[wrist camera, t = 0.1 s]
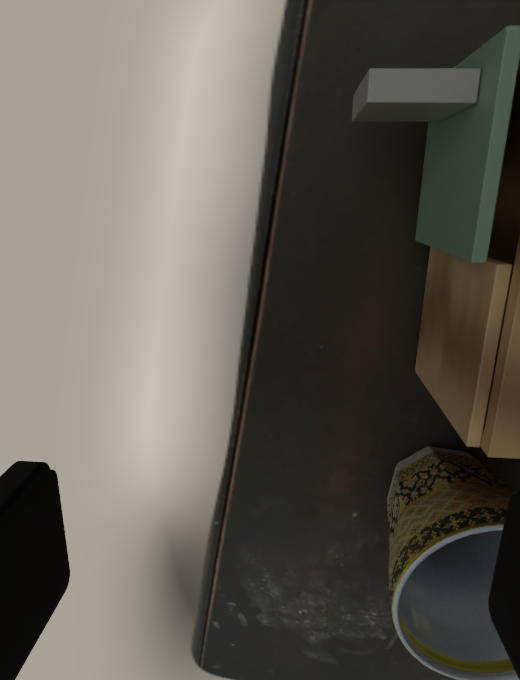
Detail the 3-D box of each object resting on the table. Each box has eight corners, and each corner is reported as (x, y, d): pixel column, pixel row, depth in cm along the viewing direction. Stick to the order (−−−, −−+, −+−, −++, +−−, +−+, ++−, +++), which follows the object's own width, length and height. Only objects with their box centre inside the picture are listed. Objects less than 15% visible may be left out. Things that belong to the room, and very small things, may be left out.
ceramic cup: (335, 471, 32) (353, 586, 23) (464, 395, 30) (544, 488, 21) (433, 594, 35) (485, 744, 26) (558, 533, 33) (667, 673, 23)
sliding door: (349, 83, 24) (379, 25, 16) (444, 83, 24) (525, 24, 16) (339, 239, 27) (360, 260, 18) (425, 241, 26) (486, 263, 18)
